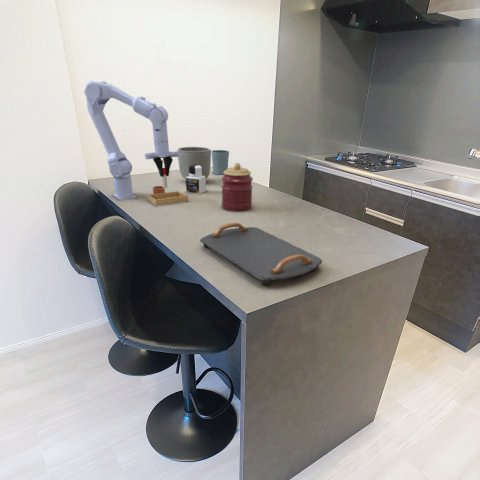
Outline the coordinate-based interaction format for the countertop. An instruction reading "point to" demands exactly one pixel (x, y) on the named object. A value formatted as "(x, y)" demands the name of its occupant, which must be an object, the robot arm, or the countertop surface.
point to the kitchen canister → (237, 189)
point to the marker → (164, 178)
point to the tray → (167, 198)
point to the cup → (158, 189)
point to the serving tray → (260, 252)
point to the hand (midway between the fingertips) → (164, 176)
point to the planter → (194, 159)
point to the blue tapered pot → (220, 161)
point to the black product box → (195, 180)
